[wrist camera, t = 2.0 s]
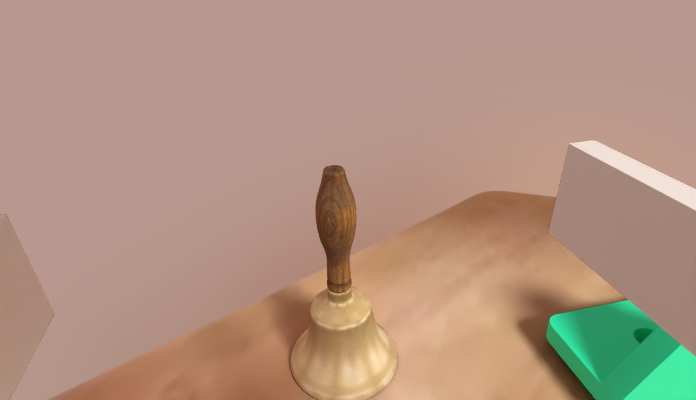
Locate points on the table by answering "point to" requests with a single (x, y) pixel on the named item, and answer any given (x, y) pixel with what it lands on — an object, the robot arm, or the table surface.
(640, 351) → the camera mount
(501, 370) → the table surface
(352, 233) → the hand bell
